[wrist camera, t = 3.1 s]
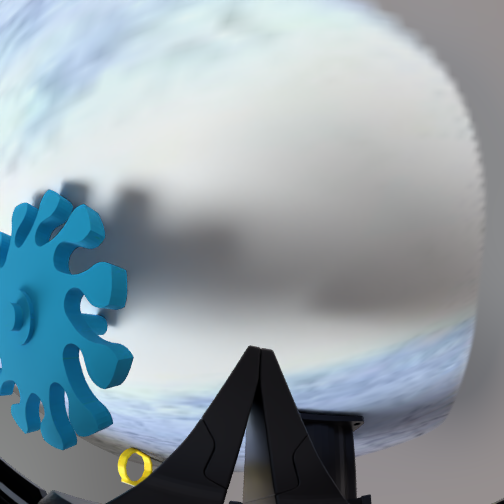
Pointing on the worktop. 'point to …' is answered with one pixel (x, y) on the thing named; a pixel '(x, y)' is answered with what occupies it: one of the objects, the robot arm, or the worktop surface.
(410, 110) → the worktop surface
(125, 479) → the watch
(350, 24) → the worktop surface
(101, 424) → the gear
